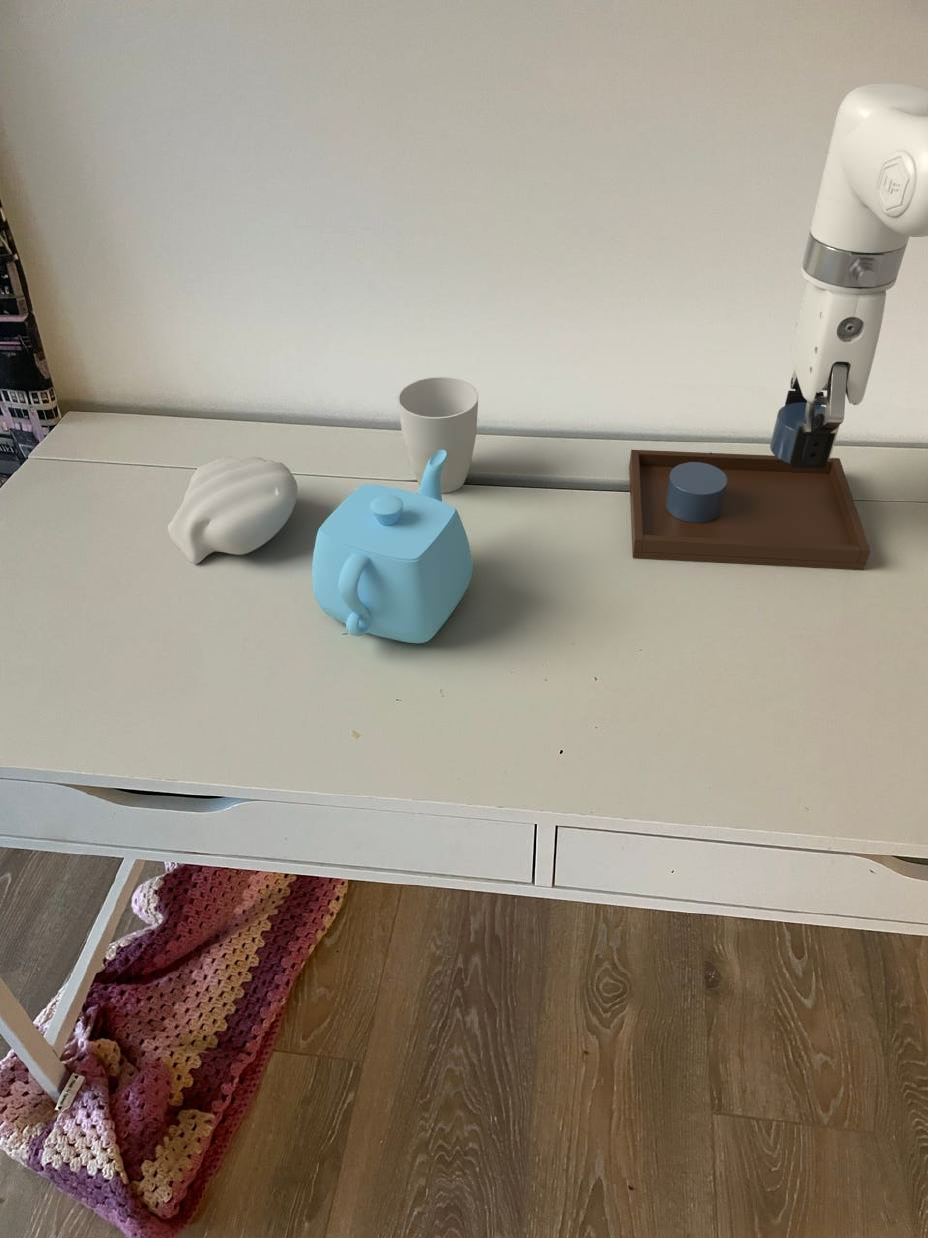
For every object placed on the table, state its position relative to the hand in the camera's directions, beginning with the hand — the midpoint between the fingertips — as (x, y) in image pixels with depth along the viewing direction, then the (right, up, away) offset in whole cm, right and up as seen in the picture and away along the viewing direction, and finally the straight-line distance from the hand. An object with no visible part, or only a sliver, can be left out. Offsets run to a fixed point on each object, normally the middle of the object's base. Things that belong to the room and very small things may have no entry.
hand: (802, 445), depth 89 cm
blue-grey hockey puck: (0, 0, 0) cm, 1 cm away
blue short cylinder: (-9, -5, +6) cm, 12 cm away
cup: (-35, -2, +12) cm, 37 cm away
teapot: (-38, -14, -2) cm, 40 cm away
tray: (-4, -6, +6) cm, 10 cm away
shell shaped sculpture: (-55, -8, +6) cm, 56 cm away
